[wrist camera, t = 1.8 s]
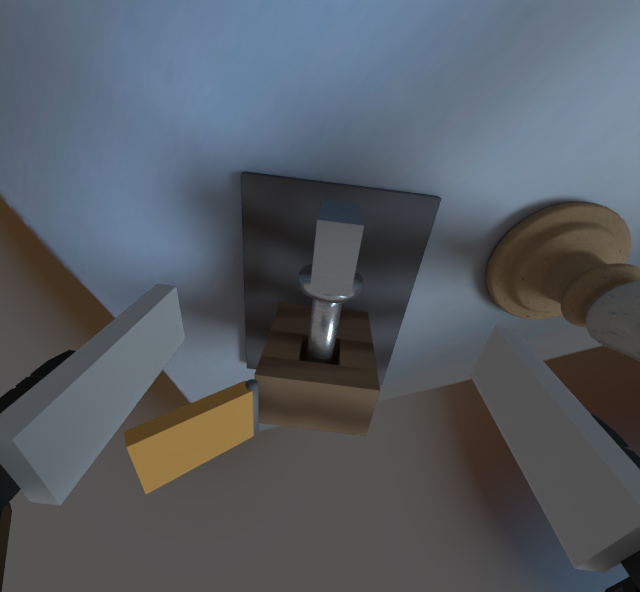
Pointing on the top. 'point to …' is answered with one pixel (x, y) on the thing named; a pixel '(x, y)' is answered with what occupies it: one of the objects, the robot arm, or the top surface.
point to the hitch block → (295, 307)
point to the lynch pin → (331, 274)
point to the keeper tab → (193, 434)
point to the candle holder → (571, 273)
